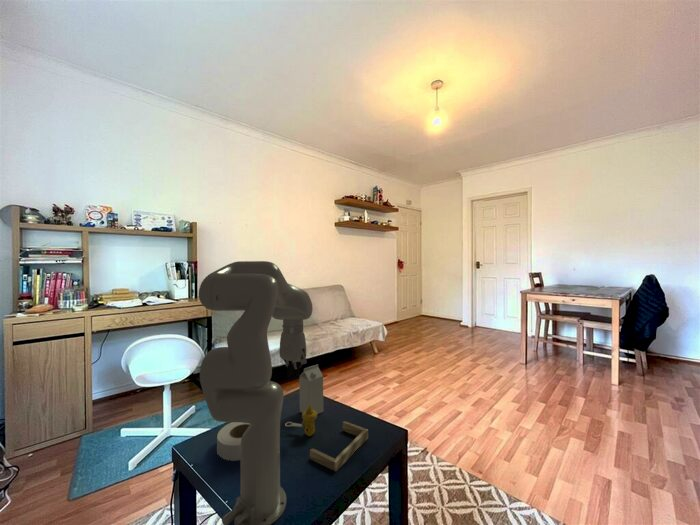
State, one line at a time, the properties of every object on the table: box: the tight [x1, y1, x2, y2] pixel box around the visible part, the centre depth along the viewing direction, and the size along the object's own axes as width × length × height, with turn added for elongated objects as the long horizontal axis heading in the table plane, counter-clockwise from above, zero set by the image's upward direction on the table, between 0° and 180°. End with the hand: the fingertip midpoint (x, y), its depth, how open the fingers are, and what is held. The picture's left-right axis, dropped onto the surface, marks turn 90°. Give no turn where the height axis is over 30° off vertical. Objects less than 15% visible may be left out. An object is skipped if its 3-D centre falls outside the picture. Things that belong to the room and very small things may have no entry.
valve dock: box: [309, 420, 369, 473], centre depth 94 cm, size 19×10×3 cm, turn 147°
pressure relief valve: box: [284, 406, 318, 437], centre depth 102 cm, size 6×12×10 cm, turn 79°
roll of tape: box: [216, 422, 251, 462], centre depth 96 cm, size 16×16×6 cm
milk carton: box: [298, 364, 324, 415], centre depth 117 cm, size 7×7×19 cm
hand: (293, 377), depth 106 cm, fingers closed
